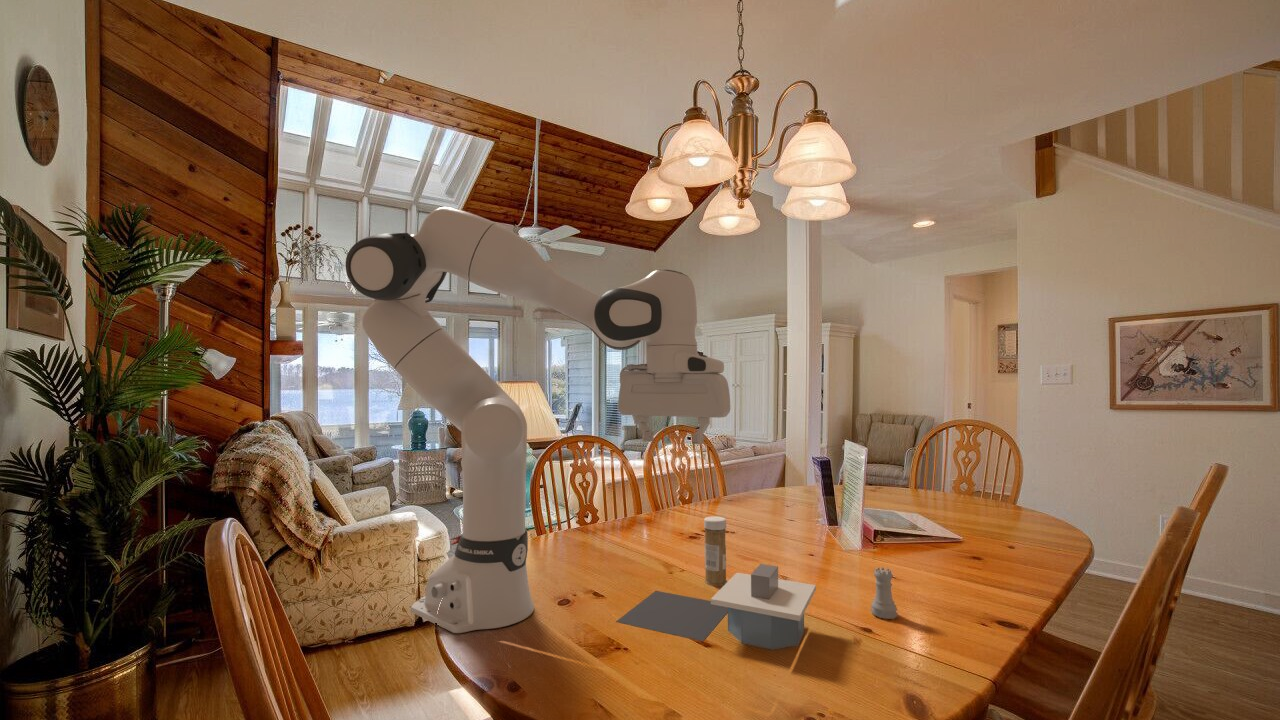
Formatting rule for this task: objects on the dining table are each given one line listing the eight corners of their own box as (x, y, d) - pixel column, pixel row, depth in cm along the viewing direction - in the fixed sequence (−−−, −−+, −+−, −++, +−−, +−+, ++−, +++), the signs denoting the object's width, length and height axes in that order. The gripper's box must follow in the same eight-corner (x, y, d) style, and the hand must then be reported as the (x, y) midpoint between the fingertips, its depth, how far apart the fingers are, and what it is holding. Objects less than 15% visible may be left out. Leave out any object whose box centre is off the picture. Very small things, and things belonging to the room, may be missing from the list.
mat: (615, 624, 94) (615, 621, 94) (655, 592, 109) (655, 590, 109) (703, 643, 87) (703, 641, 87) (733, 607, 101) (733, 605, 101)
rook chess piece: (882, 621, 95) (881, 575, 96) (865, 611, 99) (864, 566, 100) (903, 618, 96) (902, 572, 97) (885, 608, 101) (885, 564, 101)
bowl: (721, 640, 88) (720, 602, 88) (742, 614, 98) (741, 580, 99) (794, 657, 83) (793, 616, 83) (808, 627, 93) (807, 591, 93)
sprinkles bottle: (731, 585, 113) (730, 518, 113) (714, 589, 110) (714, 521, 111) (716, 578, 117) (716, 514, 117) (699, 582, 114) (699, 517, 115)
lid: (710, 604, 88) (710, 576, 88) (736, 576, 100) (736, 553, 100) (800, 621, 81) (799, 591, 82) (815, 589, 94) (815, 564, 94)
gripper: (611, 363, 98) (611, 441, 97) (721, 361, 88) (721, 447, 88) (628, 364, 103) (628, 438, 103) (732, 362, 94) (733, 443, 93)
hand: (672, 442), depth 95 cm, fingers open, 8 cm apart
